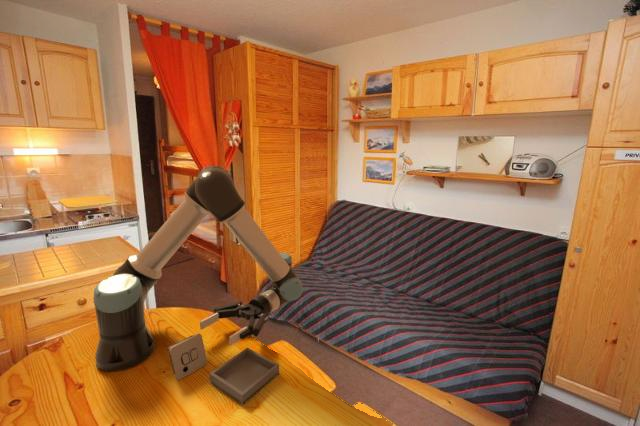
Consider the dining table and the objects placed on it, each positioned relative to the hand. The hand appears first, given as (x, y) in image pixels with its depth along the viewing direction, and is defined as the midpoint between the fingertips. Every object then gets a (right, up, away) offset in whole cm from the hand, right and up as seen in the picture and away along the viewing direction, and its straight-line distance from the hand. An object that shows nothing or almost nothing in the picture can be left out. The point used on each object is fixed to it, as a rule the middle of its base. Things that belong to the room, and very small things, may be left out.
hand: (214, 333), depth 99 cm
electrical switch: (-6, -8, -6) cm, 12 cm away
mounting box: (+11, -9, -9) cm, 17 cm away
